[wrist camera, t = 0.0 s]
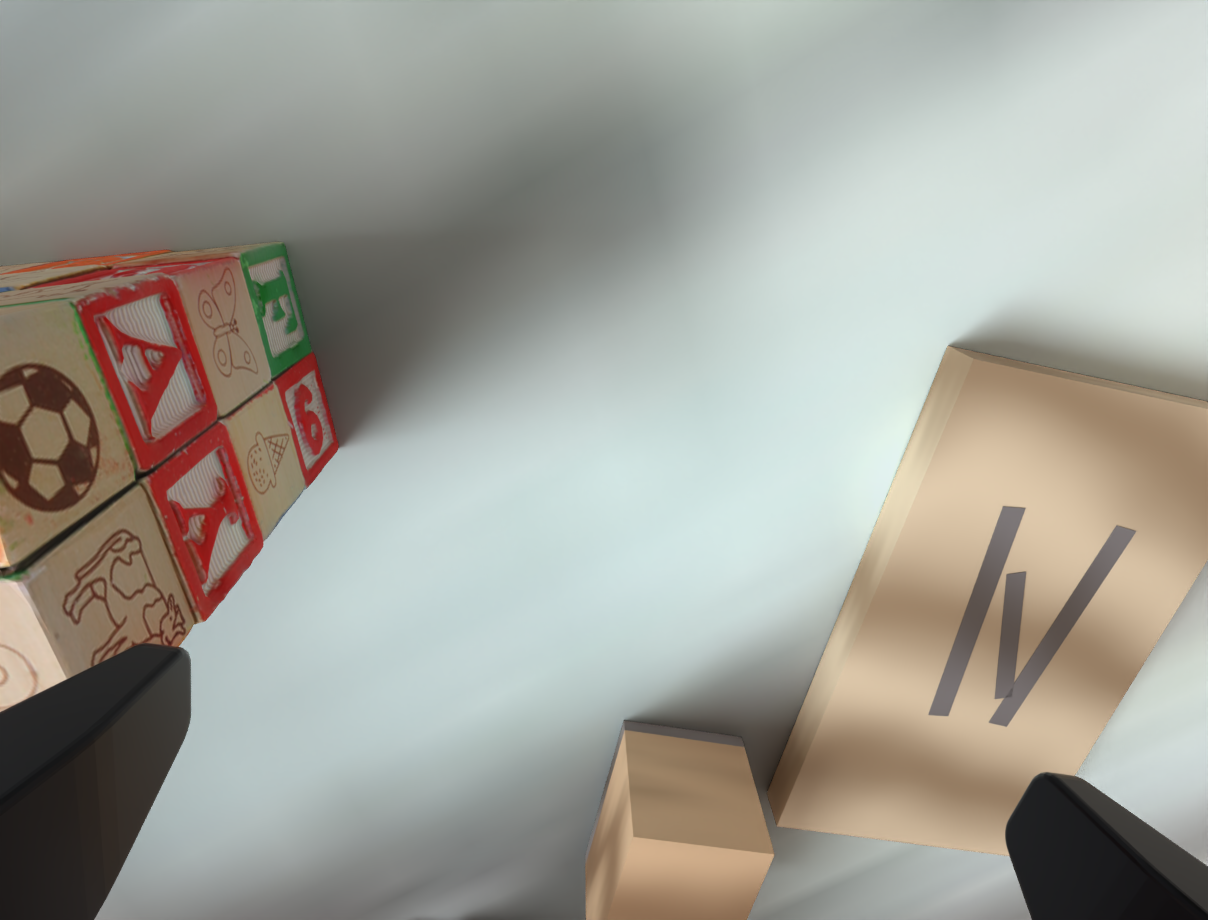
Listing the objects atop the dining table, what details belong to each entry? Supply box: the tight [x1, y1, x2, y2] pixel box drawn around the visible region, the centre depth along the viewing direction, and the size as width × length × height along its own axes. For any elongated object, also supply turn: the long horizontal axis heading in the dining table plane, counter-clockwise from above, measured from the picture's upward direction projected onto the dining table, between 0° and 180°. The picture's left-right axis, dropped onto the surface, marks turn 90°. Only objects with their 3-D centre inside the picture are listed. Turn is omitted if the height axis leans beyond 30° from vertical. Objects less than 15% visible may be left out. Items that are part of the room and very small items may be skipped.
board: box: [767, 346, 1208, 856], centre depth 24 cm, size 18×10×2 cm, turn 168°
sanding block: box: [585, 720, 775, 920], centre depth 26 cm, size 7×4×5 cm, turn 168°
